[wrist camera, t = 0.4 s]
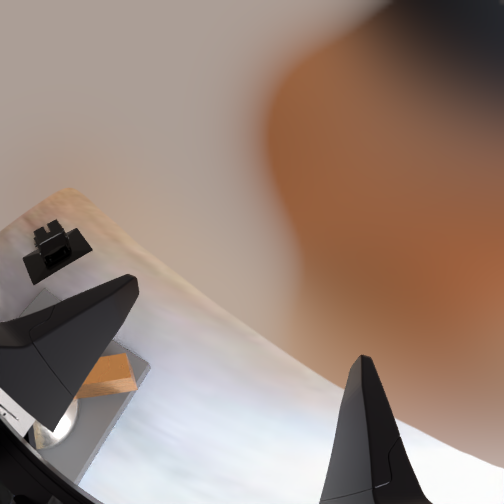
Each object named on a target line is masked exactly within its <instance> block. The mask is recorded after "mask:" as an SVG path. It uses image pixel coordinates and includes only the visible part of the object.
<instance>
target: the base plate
mask: <svg viewBox="0 0 504 504" xmlns="http://www.w3.org/2000/svg"><path fill="white" fill-rule="evenodd" d="M59 302H61V301H60V300H59V299H57V298H56V297H55V296H54V295H53V294H51V293H50V292H49V291H48V290H47V289H46V288H44V289H43V290H42V291H41V293H40V294H39V295H38V296H37V297H36V298H35V299H34V300H33V301H32V302H31V304H30V305H29V306H28V307H27V308H26V309H25V310H24V312H23V313H22V314H21V315H20V316H19V318H20V317H22V316H25V315H28V314H31V313H34V312H37V311H40V310H42V309H44V308H47V307H49V306H52V305H54V304H56V303H59ZM122 353H126V355H127V357H128V360H129V362H130V364H131V366H132V369H133V373H134V377H135V381H136V385H137V389H138V387H139V386H140V384H141V383H142V381H143V379H144V378H145V376H146V375H147V373H148V372H149V370H150V369H151V368H150V365H149V363H148V362H146V361H145V360H143V359H141V358H140V357H138V356H136V355H135V354H133V353H132V352H130V351H129V350H127V349H125V348H124V347H122V346H121V345H119V344H118V343H116V342H115V341H113V340H111V342H110V343H109V345H108V346H107V348H106V349H105V351H104V352H103V354H102V355H101V357H104V356H110V355H116V354H122ZM135 392H136V390H134V391H128V392H122V393H116V394H110V395H103V396H96V397H88V398H80V403H81V406H80V414H79V419H78V422H77V424H76V427H75V429H74V430H73V432H72V434H71V435H70V436H69V437H68V438H67V439H66V440H65V441H64V442H63V443H62V444H60V445H58V446H56V447H54V448H50V449H43V450H40V449H36V451H37V452H38V453H39V454H40V455H41V456H42V457H43V458H44V459H45V460H47V461H48V462H49V463H50V464H51V465H52V466H53V467H55V468H56V469H57V470H58V471H59V472H61V473H62V474H63V475H64V476H66V477H67V478H68V479H69V480H71V481H72V482H73V483H75V484H76V485H77V486H78V484H79V482H80V481H81V479H82V477H83V476H84V474H85V472H86V471H87V469H88V467H89V466H90V464H91V462H92V461H93V459H94V457H95V456H96V454H97V453H98V451H99V449H100V448H101V446H102V444H103V443H104V441H105V440H106V438H107V436H108V435H109V433H110V432H111V430H112V428H113V427H114V425H115V424H116V422H117V420H118V419H119V417H120V416H121V414H122V412H123V411H124V409H125V408H126V406H127V404H128V403H129V401H130V400H131V398H132V397H133V395H134V393H135Z"/></svg>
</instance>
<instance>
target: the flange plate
mask: <svg viewBox="0 0 504 504" xmlns="http://www.w3.org/2000/svg"><path fill="white" fill-rule="evenodd" d="M134 390H138V389H137V385H136V381H135V377H134V373H133V369H132V366H131V364H130V362H129V360H128V357H127V355H126V353H122V354H116V355H110V356H104V357H100V358H99V360H98V361H97V363H96V364H95V366H94V367H93V369H92V370H91V372H90V373H89V375H88V377H87V378H86V380H85V381H84V383H83V384H82V386H81V388H80V389H79V391H78V392H77V394H76V396H75V397H74V399H73V401H72V402H71V404H70V406H69V407H68V409H67V410H66V412H65V414H64V416H63V417H62V419H61V421H60V422H59V424H58V426H57V427H56V429H55V431H54V432H53V433H52V432H51V431H50V430H48V429H47V428H46V427H44V426H43V425H42V424H41V423H39V422H38V421H37V420H35V421H34V423H33V428H34V435H35V442H36V449H40V450H43V449H50V448H54V447H56V446H58V445H60V444H62V443H63V442H64V441H65V440H66V439H67V438H68V437H69V436H70V435H71V434H72V432H73V430H74V429H75V427H76V424H77V422H78V419H79V414H80V406H81V403H80V398H88V397H96V396H103V395H110V394H116V393H122V392H128V391H134Z"/></svg>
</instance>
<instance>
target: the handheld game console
mask: <svg viewBox="0 0 504 504" xmlns="http://www.w3.org/2000/svg"><path fill="white" fill-rule="evenodd" d="M13 498H14V495H13V494H12V493H11V492H10V491H9V489H8V488H7V487H6V486H5V485H4V484H3V483H2V482H1V481H0V504H10V503H11V501H12V499H13Z"/></svg>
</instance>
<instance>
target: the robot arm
mask: <svg viewBox="0 0 504 504" xmlns="http://www.w3.org/2000/svg"><path fill="white" fill-rule="evenodd" d="M138 295H139V287H138V281H137V278H136V277H135V276H133V275H130V274H126V275H123V276H121V277H118V278H116V279H113V280H111V281H109V282H106V283H104V284H101V285H99V286H96V287H94V288H92V289H89V290H87V291H84V292H82V293H80V294H77V295H75V296H73V297H70V298H68V299H66V300H63V301H61V302H59V303H56V304H54V305H52V306H49V307H47V308H44V309H42V310H40V311H37V312H34V313H31V314H28V315H25V316H22V317H20V318H17V319H14V320H11V321H7V322H0V481H1V482H2V483H3V484H4V485H5V486H6V487H7V488H8V489H9V491H10V492H11V493H12V494H13V495H14V496H15V497H14V498H13V499H12V501H11V503H10V504H103V503H102V502H100V501H99V500H97V499H96V498H94V497H93V496H91V495H90V494H88V493H87V492H86V491H84V490H83V489H81V488H80V487H79V486H77V485H76V484H75V483H73V482H72V481H71V480H69V479H68V478H67V477H66V476H64V475H63V474H62V473H61V472H59V471H58V470H57V469H56V468H55V467H53V466H52V465H51V464H50V463H49V462H48V461H47V460H45V459H44V458H43V457H42V456H41V455H40V454H39V453H38V452H37V451H36V442H35V435H34V428H33V423H34V421H35V420H37V421H38V422H39V423H41V424H42V425H43V426H44V427H46V428H47V429H48V430H50V431H51V432H52V433H53V432H54V431H55V429H56V427H57V426H58V424H59V422H60V421H61V419H62V417H63V416H64V414H65V412H66V410H67V409H68V407H69V406H70V404H71V402H72V401H73V399H74V397H75V396H76V394H77V392H78V391H79V389H80V388H81V386H82V384H83V383H84V381H85V380H86V378H87V377H88V375H89V373H90V372H91V370H92V369H93V367H94V366H95V364H96V363H97V361H98V360H99V358H100V357H101V355H102V354H103V352H104V351H105V349H106V348H107V346H108V345H109V343H110V342H111V340H112V339H113V338H114V336H115V335H116V333H117V332H118V330H119V329H120V327H121V326H122V324H123V323H124V321H125V319H126V317H127V315H128V314H129V312H130V310H131V308H132V306H133V305H134V303H135V301H136V299H137V298H138ZM399 436H400V433H399V430H398V427H397V424H396V422H395V419H394V416H393V413H392V410H391V408H390V405H389V402H388V399H387V397H386V394H385V391H384V389H383V386H382V383H381V381H380V378H379V376H378V373H377V371H376V368H375V365H374V363H373V360H372V359H371V357H369V356H365V355H360V356H359V357H358V359H357V360H356V361H355V363H354V364H353V365H352V367H351V369H350V372H349V376H348V380H347V384H346V388H345V391H344V395H343V398H342V402H341V406H340V411H339V417H338V422H337V428H336V433H335V439H334V444H333V449H332V453H331V458H330V462H329V467H328V471H327V475H326V479H325V483H324V487H323V491H322V495H321V498H320V502H319V504H433V503H431V502H430V501H429V500H428V499H427V498H426V496H425V495H424V493H423V491H422V489H421V487H420V485H419V482H418V480H417V478H416V475H415V473H414V471H413V468H412V466H411V464H410V461H409V459H408V456H407V454H406V451H405V448H404V445H403V442H402V439H401V437H399Z"/></svg>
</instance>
